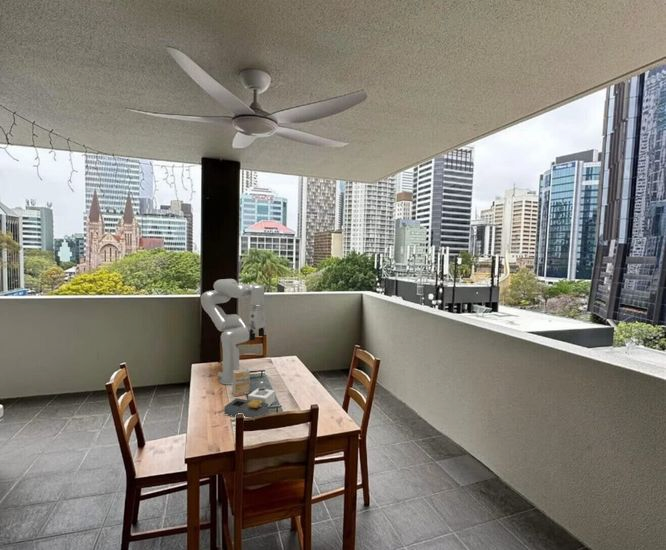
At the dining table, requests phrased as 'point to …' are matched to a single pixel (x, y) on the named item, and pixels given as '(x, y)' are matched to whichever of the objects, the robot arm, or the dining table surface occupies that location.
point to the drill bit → (261, 387)
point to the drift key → (254, 403)
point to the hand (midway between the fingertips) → (256, 338)
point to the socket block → (244, 408)
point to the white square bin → (268, 397)
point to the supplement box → (241, 382)
